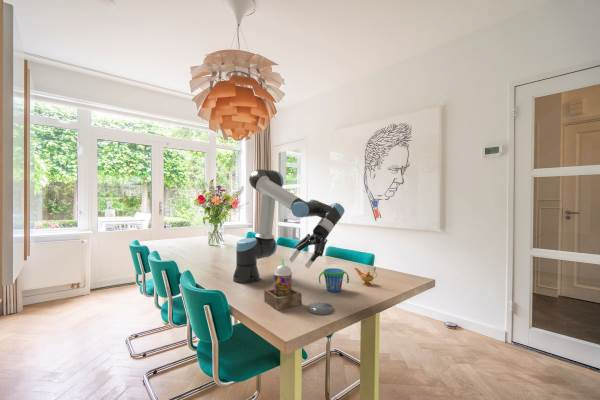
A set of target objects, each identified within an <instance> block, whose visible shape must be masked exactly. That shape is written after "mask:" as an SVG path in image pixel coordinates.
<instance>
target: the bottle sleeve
mask: <svg viewBox="0 0 600 400" xmlns="http://www.w3.org/2000/svg"><path fill="white" fill-rule="evenodd" d="M263 295H264V296H263V302H265V303H266V304H267V305H269V306H270V307H271V308H273V309H275V310H276V311H281V310H285V309H289V308H292V307H296V306H301V305H302V303H303V302H302V295H303V294H302V292H300V291H298V290H296V289H294V288H292V287H291V294H290V295H286V296H282V297H277V296H276V295H275V287H273V288H270V289H264V292H263Z"/></svg>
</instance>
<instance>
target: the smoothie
mask: <svg viewBox="0 0 600 400" xmlns="http://www.w3.org/2000/svg"><path fill="white" fill-rule="evenodd" d="M284 260H285V259H284V258H281V264H280V265H278V266H276V268H275V270H274V272H273V283H274V285H273V286H274V287H273V288H275V295H276V296H277V297H282V296H286V295H290V294H291V288H292V280H293V279H292V277H293V272H292V270H291V268H290V266H288V265H286V264H284V262H285V261H284Z"/></svg>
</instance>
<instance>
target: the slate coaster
mask: <svg viewBox="0 0 600 400" xmlns="http://www.w3.org/2000/svg"><path fill="white" fill-rule="evenodd" d="M307 312H308V313H310V314H312V315H318V316H323V315H324V316H325V315H330V314H332V312H334V307H333V305H332V304H330V303H326V302H317V301H316V302H311V303H308V305H307Z"/></svg>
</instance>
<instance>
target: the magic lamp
mask: <svg viewBox="0 0 600 400" xmlns="http://www.w3.org/2000/svg"><path fill="white" fill-rule="evenodd" d="M354 270H355V271H356V273H357V275H358V276H359V278H360V279H361V280H362V281H364V282H363V283H362V285H363V286H366V287H369V286H372V283H371V282H373V281H374V279H375V278H376V277H378V276H377V274H378V273H377V272H376V270H377V267H376V266H375V267H373V271H374V272H373V273H372V275H371V273H370V271H367V272H366V273H363V272H362V271H361V270H360V269H359V268H357V267H355V268H354ZM374 275H375V276H374Z"/></svg>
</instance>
